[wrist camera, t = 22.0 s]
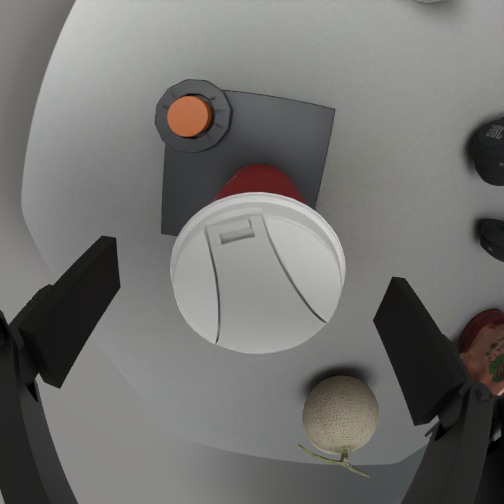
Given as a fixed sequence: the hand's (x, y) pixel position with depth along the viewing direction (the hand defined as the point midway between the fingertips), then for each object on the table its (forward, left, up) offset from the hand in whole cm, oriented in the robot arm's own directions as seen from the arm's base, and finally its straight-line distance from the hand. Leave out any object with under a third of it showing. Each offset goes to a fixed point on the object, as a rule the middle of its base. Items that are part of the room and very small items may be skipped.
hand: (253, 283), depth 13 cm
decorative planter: (+37, -15, -16) cm, 43 cm away
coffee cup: (0, 0, -14) cm, 14 cm away
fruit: (+15, -26, -16) cm, 34 cm away
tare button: (-6, +6, -13) cm, 15 cm away
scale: (-2, +2, -15) cm, 15 cm away
